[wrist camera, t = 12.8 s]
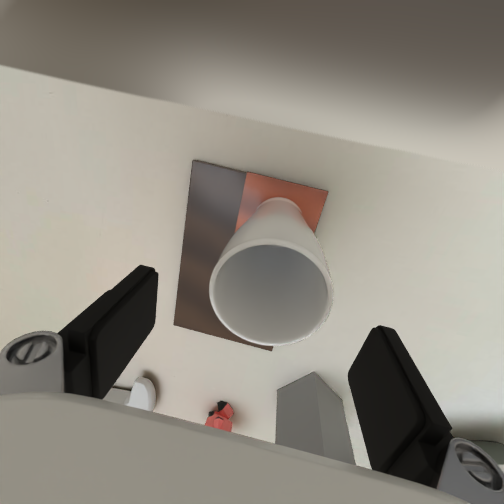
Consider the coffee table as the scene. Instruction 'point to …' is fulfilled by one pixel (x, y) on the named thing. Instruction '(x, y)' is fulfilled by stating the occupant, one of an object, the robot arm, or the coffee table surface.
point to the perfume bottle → (313, 420)
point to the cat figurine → (220, 417)
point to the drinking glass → (272, 278)
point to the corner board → (225, 233)
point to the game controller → (135, 395)
